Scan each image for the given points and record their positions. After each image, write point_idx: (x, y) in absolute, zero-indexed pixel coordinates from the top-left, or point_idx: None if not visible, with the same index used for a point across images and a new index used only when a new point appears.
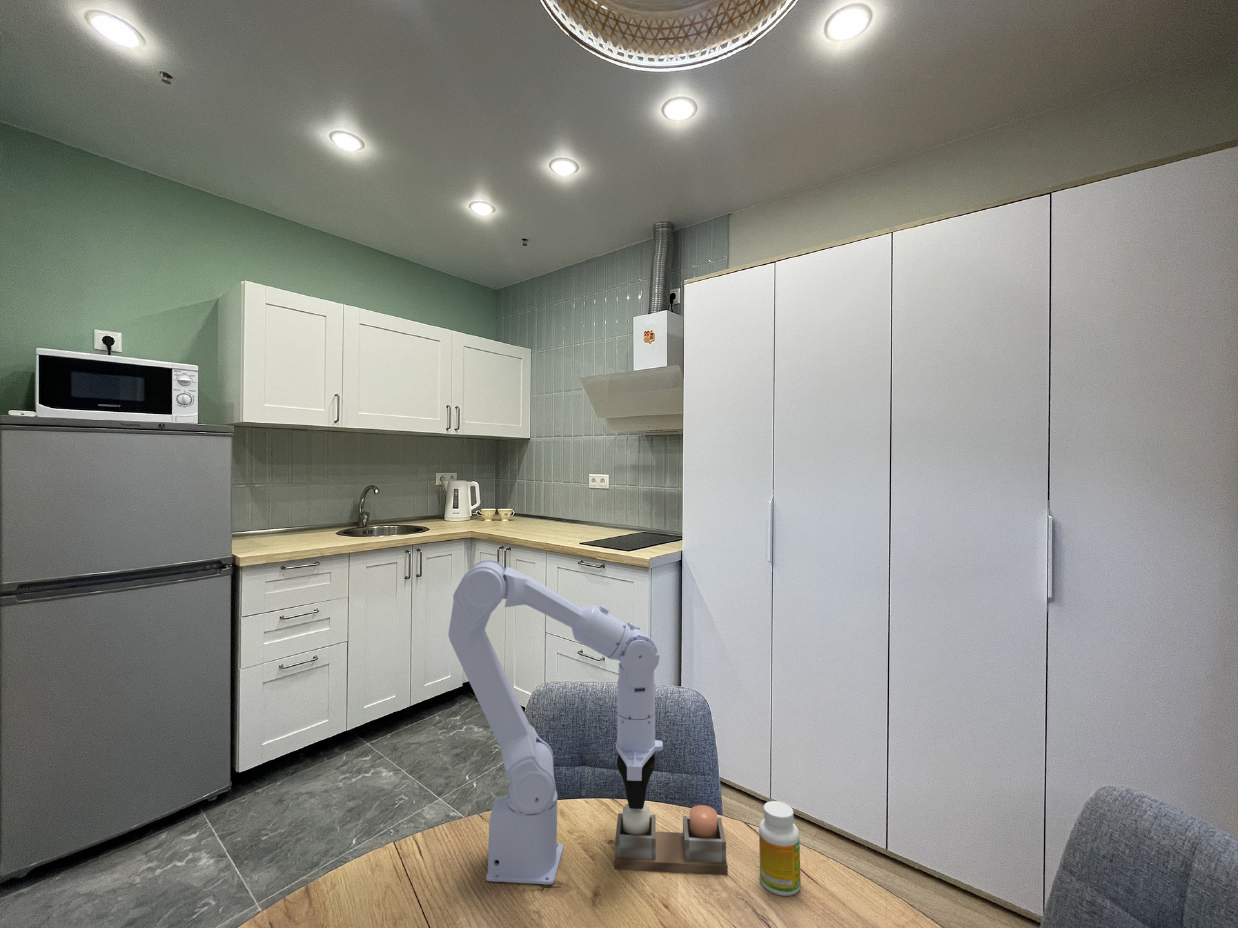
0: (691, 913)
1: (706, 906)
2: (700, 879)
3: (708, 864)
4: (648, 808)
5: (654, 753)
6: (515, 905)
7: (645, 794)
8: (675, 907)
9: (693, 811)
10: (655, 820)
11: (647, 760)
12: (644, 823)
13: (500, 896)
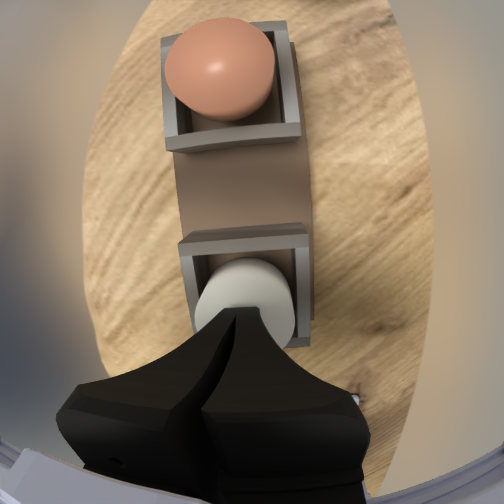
0: (416, 140)
1: (395, 106)
2: (319, 109)
3: (298, 83)
4: (226, 281)
5: (95, 418)
6: (388, 415)
7: (266, 328)
8: (407, 171)
9: (213, 96)
10: (208, 241)
11: (476, 496)
12: (279, 281)
13: (370, 433)
